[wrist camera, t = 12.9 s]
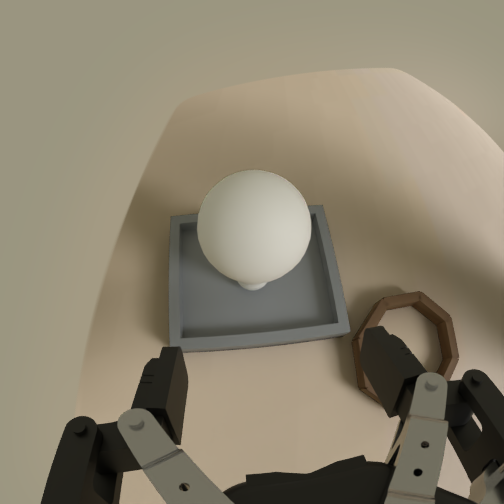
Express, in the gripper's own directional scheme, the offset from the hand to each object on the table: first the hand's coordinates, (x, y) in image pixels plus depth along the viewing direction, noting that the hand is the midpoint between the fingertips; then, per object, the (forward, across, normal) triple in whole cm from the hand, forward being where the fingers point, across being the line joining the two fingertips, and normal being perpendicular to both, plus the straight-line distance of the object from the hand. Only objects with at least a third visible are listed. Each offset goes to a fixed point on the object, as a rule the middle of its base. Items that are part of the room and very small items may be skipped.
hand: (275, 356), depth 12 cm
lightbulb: (+11, 0, +2) cm, 12 cm away
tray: (+12, 0, +2) cm, 12 cm away
